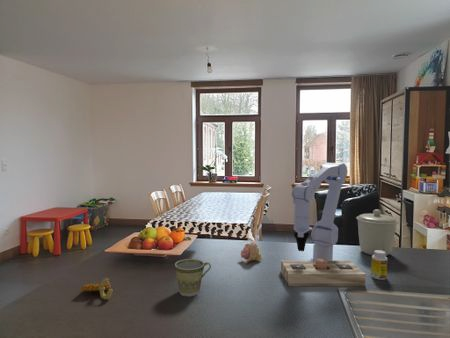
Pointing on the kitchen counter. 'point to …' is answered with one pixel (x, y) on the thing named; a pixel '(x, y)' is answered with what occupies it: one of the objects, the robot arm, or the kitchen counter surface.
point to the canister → (376, 232)
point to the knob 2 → (344, 266)
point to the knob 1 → (297, 266)
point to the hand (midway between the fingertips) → (301, 250)
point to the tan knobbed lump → (251, 252)
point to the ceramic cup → (190, 276)
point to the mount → (322, 274)
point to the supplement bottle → (379, 265)
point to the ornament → (100, 288)
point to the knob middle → (321, 264)
